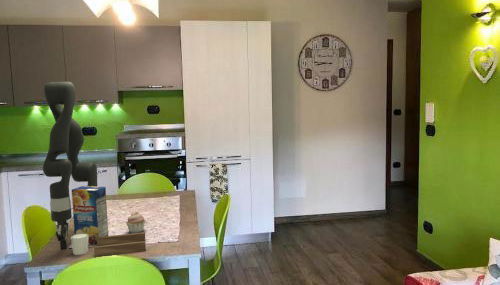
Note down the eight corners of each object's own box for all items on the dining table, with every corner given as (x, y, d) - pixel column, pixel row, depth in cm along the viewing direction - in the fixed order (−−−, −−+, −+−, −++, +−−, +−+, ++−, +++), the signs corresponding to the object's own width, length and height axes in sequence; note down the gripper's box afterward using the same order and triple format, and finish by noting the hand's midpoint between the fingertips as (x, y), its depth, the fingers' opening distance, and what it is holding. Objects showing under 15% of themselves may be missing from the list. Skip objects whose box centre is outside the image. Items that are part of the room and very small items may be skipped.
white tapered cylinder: (84, 247, 169) (83, 232, 169) (92, 251, 165) (91, 235, 164) (68, 252, 164) (67, 236, 163) (76, 256, 160) (75, 239, 159)
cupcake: (139, 235, 184) (138, 214, 183) (122, 233, 187) (120, 213, 186) (150, 229, 192) (149, 209, 191) (133, 227, 195) (132, 207, 194)
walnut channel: (97, 244, 173) (97, 237, 172) (145, 239, 178) (145, 232, 177) (94, 256, 160) (93, 247, 159) (145, 250, 165) (145, 242, 165)
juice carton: (75, 242, 176) (71, 189, 173) (85, 237, 183) (82, 185, 180) (98, 244, 173) (95, 190, 170) (108, 238, 180) (105, 186, 177)
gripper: (54, 204, 166) (57, 244, 168) (46, 213, 154) (50, 256, 156) (73, 203, 168) (76, 242, 170) (67, 211, 156) (70, 254, 157)
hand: (63, 249), depth 163 cm, fingers closed
